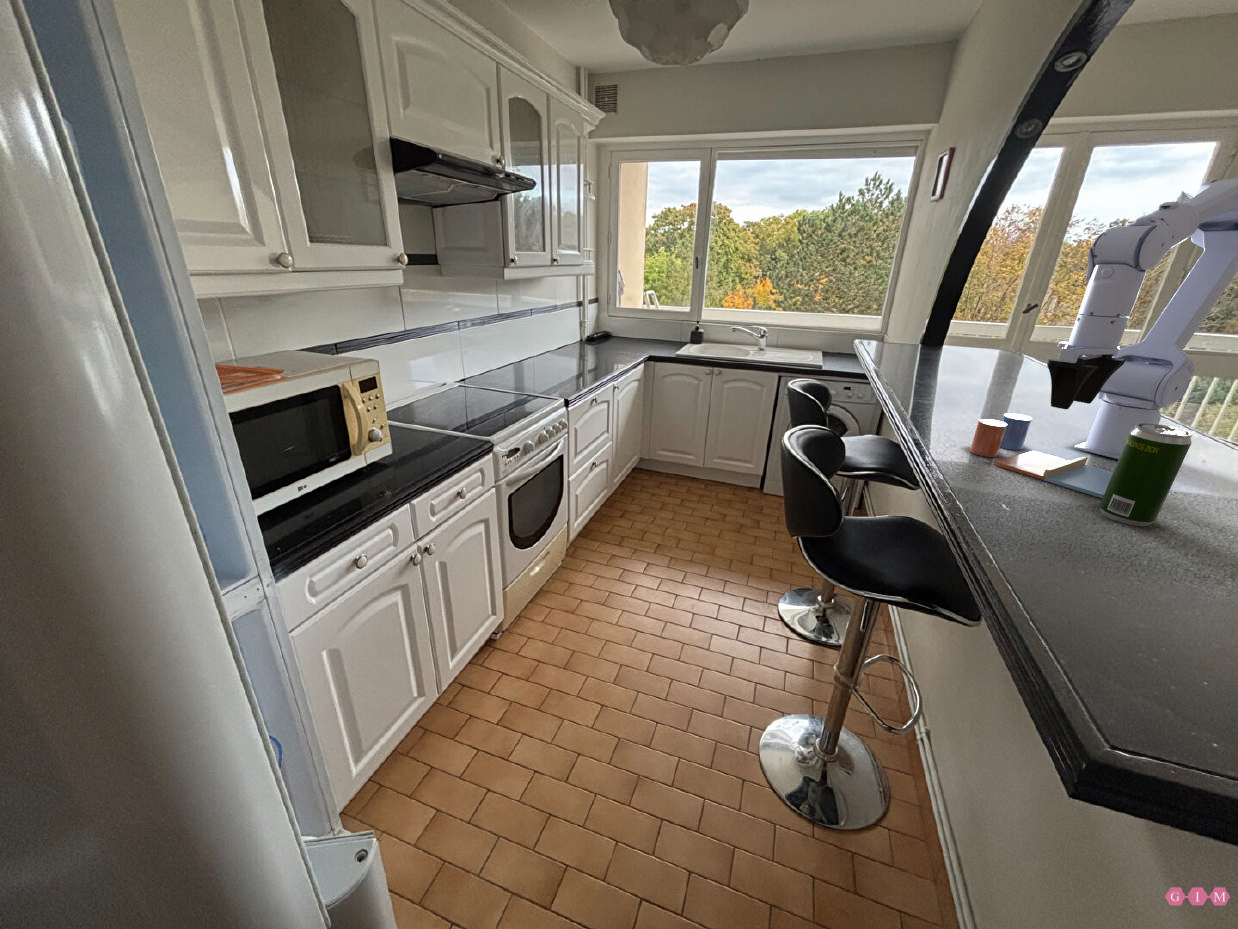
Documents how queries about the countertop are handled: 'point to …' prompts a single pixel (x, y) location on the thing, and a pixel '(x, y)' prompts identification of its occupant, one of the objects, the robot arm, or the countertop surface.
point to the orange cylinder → (988, 437)
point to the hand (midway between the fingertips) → (1070, 404)
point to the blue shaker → (1015, 431)
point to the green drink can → (1145, 473)
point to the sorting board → (1060, 471)
